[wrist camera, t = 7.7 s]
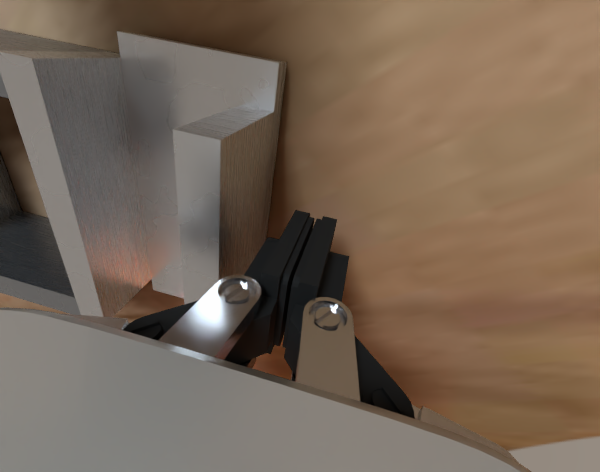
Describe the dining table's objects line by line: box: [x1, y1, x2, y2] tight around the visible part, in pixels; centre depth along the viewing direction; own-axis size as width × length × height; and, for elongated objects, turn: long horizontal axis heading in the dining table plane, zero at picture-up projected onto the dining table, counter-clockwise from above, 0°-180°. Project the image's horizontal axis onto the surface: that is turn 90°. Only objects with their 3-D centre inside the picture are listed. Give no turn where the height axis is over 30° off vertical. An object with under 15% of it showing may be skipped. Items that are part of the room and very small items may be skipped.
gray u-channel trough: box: [0, 31, 287, 317], centre depth 12 cm, size 7×12×5 cm, turn 171°
